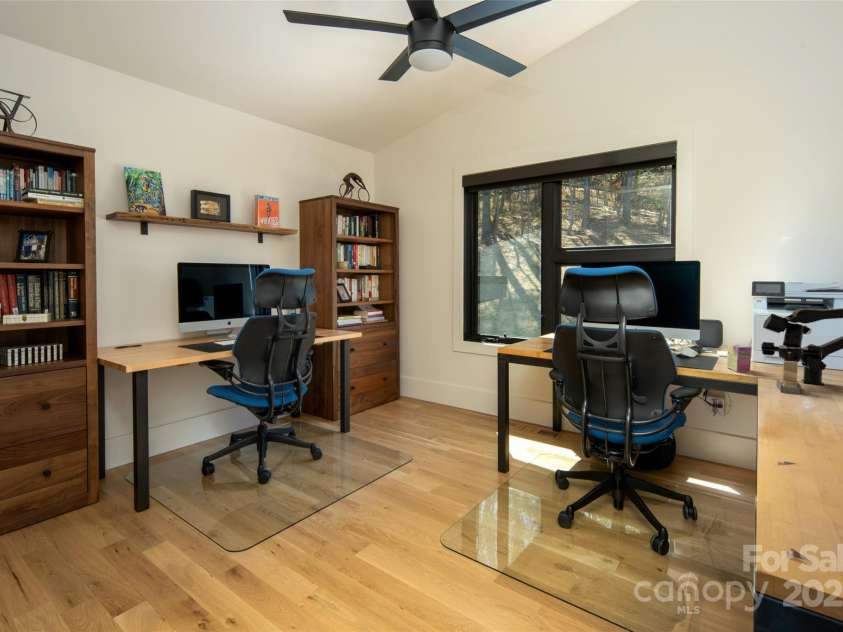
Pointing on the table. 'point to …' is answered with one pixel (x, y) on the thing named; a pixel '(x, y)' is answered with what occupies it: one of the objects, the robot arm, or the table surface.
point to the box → (739, 357)
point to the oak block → (790, 373)
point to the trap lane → (789, 388)
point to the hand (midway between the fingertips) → (787, 367)
